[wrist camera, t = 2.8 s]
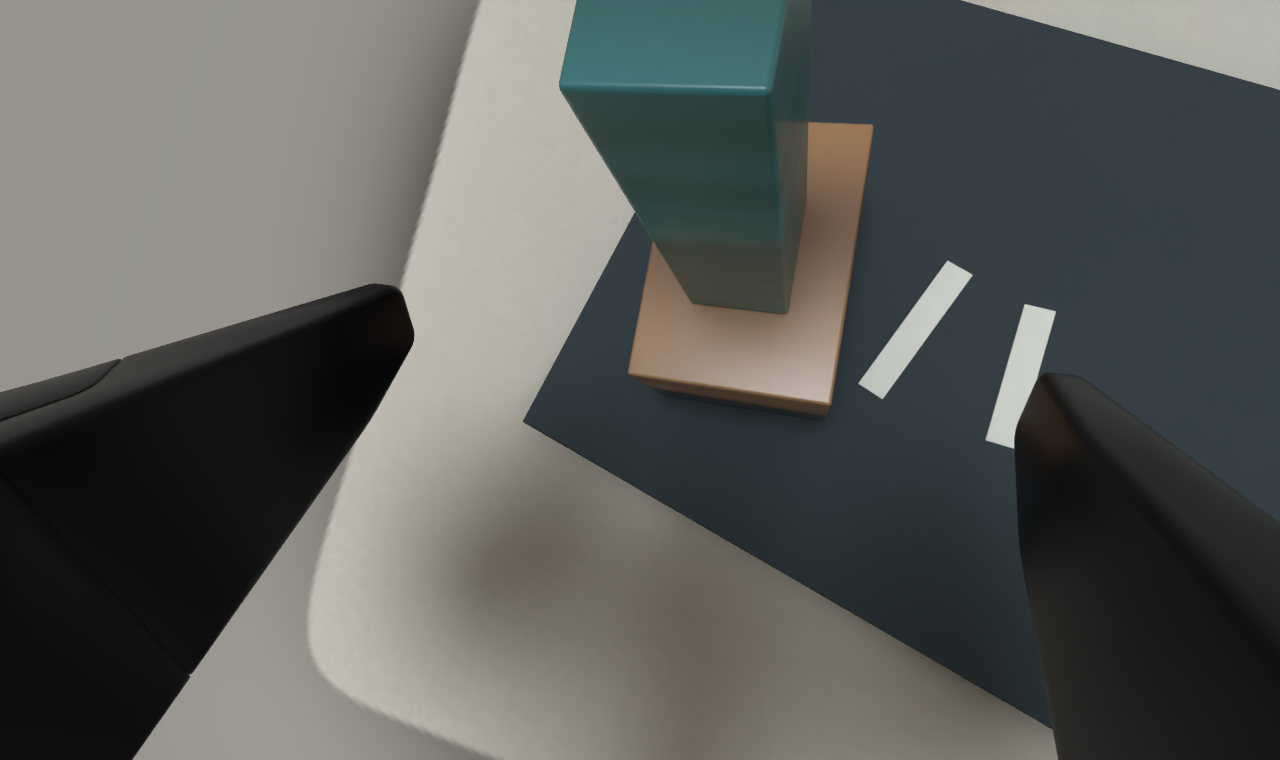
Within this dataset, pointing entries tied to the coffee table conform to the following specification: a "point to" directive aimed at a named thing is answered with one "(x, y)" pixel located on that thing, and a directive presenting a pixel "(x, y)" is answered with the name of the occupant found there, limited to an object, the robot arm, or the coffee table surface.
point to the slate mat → (975, 318)
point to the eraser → (725, 193)
